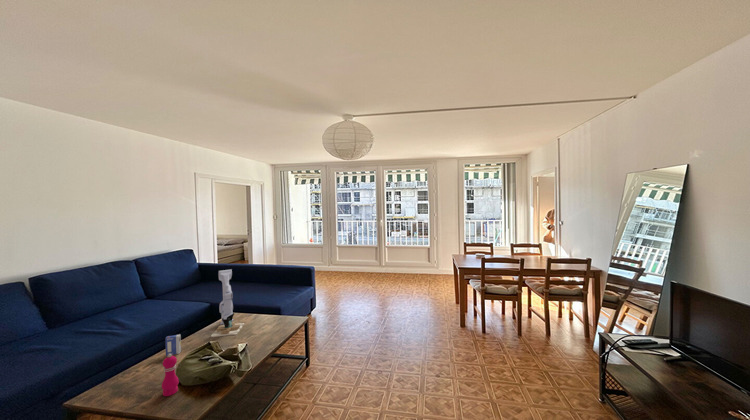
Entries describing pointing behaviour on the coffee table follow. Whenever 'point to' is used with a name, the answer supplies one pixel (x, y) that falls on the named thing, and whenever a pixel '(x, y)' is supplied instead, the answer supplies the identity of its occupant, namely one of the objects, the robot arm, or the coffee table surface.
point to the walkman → (173, 344)
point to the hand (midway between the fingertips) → (228, 325)
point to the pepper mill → (170, 376)
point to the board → (234, 332)
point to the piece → (229, 324)
